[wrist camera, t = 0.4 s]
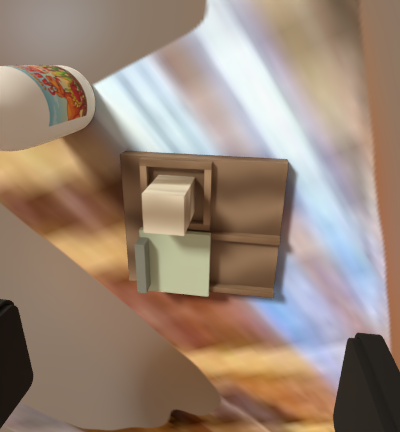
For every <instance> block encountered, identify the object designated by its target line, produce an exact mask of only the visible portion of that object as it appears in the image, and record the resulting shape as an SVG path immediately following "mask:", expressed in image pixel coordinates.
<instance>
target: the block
mask: <svg viewBox="0 0 400 432" xmlns="http://www.w3.org/2000/svg"><path fill="white" fill-rule="evenodd" d="M142 210H143V230H144V233H154V234H166V235H179V236H184V235H185V233H186V231H187V228H188V226H189V224H190V221H191V219H192V217H193V214H194V212H195V177H187V176H171V175H158V176H157V177H156V178H155V180H154V181H153V182H152V183H151V184H150V185H149V186H148V187H147V188H146V189H145V191H144V192H143V193H142Z"/></svg>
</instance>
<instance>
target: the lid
mask: <svg viewBox="0 0 400 432" xmlns="http://www.w3.org/2000/svg"><path fill="white" fill-rule="evenodd" d="M134 245H135V260H136V276H137V292H140V293H147V291H148V290H149V291H159V292H168V293H178V294H188V295H197V296H207V297H208V296H209V280H210V248H211V233H207V232H194V231H186V233H185V235H184V236H179V235H166V234H154V233H144V230H143V227H141V228H140V229H139V238H138V240H137V241H136V243H135V244H134Z"/></svg>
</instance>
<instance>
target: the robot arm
mask: <svg viewBox="0 0 400 432" xmlns="http://www.w3.org/2000/svg"><path fill="white" fill-rule="evenodd" d="M32 381H33V371H32V367H31V362H30V358H29V354H28V350H27V345H26V341H25V336H24V332H23V328H22V323H21V319H20V315H19V310H18V308H17V307H16V306H14V303H13V302H12V301H10V300H3V299H0V428H1V427H2V425H3V424H4V423H5V421H6V420H7V419H8V417H9V416H10V414H11V413H12V412H13V410H14V409H15V407H16V406H17V405H18V403H19V402H20V400H21V399H22V398H23V396H24V395H25V394H26V392H27V391H28V389H29V388H30V386H31V384H32ZM333 421H334V428H335V432H400V372H399V370H398V368H397V366H396V363H395V361H394V359H393V357H392V355H391V353H390V351H389V349H388V347H387V345H386V343H385V341H384V339H383V337H382V336H381V335H375V334H365V333H357V334H356V335H355V338H349V339H348V341H347V345H346V350H345V355H344V361H343V366H342V371H341V376H340V381H339V387H338V392H337V397H336V402H335V407H334V414H333Z"/></svg>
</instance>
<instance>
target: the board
mask: <svg viewBox="0 0 400 432" xmlns="http://www.w3.org/2000/svg"><path fill="white" fill-rule="evenodd" d="M120 160H121V173H122V187H123V200H124V214H125V227H126V241H127V255H128V268H129V280H132V281H137V276H136V260H135V245H134V244H135V243H136V241H137V240H138V238H139V229H140V228H141V227H143V210H142V193H143V192H144V191H145V189H146V188H147V187H148V186H149V185H150V184H151V183H152V182H153V181H154V180H155V178H156V177H157V176H158V175H171V176H187V177H195V212H194V214H193V217H192V219H191V221H190V224H189V226H188V228H187V231H194V232H207V233H211V248H210V280H209V291H210V292H220V293H229V294H239V295H249V296H259V297H268V298H274V282H275V274H276V265H277V257H278V248H279V245H280V231H281V223H282V214H283V206H284V197H285V189H286V180H287V172H288V160H287V159H272V158H252V157H233V156H213V155H194V154H175V153H155V152H136V151H125V152H123V153H122V154H120Z"/></svg>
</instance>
